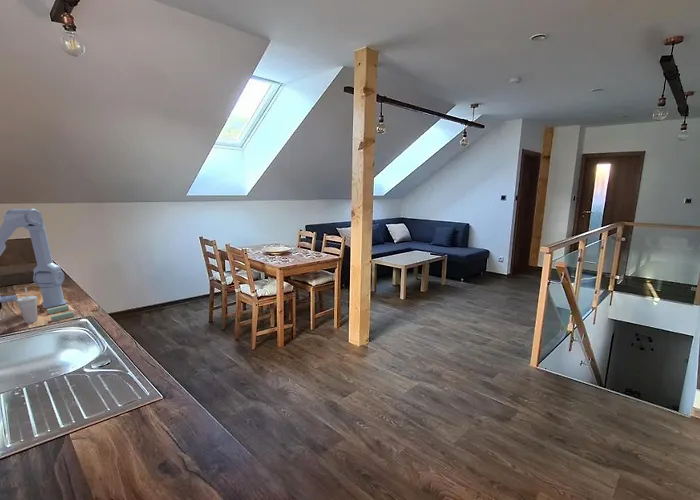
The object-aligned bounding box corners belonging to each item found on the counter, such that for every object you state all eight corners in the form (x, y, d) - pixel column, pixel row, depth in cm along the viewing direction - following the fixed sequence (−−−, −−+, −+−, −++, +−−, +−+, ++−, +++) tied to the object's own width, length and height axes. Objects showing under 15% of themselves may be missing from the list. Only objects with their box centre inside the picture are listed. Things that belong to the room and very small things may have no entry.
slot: (47, 313, 155) (46, 309, 155) (68, 308, 160) (67, 304, 160) (52, 321, 146) (51, 317, 146) (73, 316, 151) (73, 312, 151)
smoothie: (29, 325, 143) (22, 290, 140) (16, 324, 144) (8, 289, 142) (46, 318, 149) (39, 285, 146) (33, 317, 151) (26, 284, 148)
